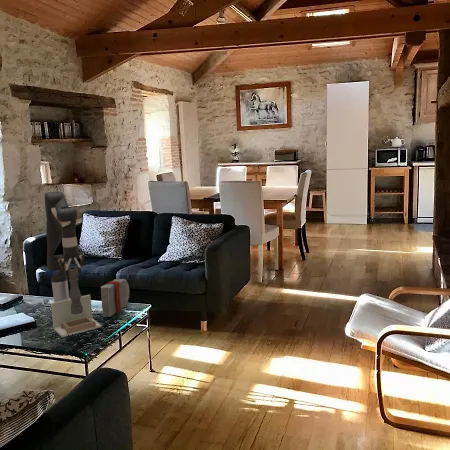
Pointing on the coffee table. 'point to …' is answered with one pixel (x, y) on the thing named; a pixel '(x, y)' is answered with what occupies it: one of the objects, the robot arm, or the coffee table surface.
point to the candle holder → (75, 291)
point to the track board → (73, 317)
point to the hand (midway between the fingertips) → (73, 275)
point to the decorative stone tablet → (114, 297)
